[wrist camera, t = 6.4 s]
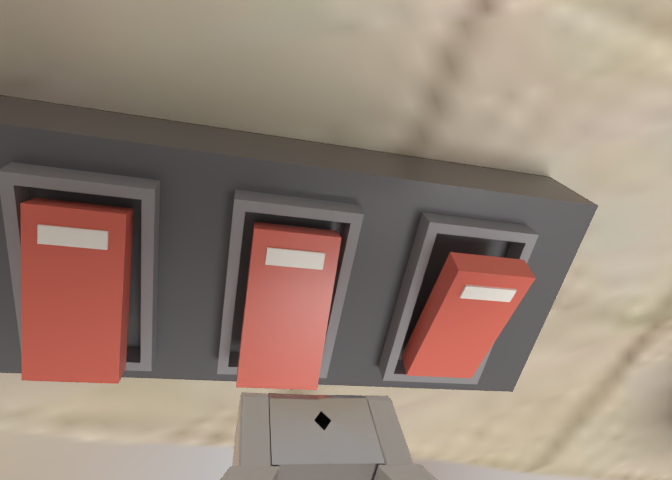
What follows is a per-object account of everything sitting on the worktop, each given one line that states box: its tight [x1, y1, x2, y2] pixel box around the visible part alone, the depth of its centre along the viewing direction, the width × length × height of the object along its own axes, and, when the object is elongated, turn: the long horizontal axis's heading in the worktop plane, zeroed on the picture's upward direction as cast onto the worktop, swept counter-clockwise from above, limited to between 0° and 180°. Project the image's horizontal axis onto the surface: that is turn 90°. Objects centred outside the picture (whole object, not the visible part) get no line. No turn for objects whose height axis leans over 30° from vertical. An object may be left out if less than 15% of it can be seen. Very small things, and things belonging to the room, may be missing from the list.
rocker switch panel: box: [0, 95, 598, 392], centre depth 19 cm, size 28×10×4 cm, turn 79°
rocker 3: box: [401, 252, 535, 378], centre depth 18 cm, size 3×6×1 cm, turn 169°
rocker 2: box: [236, 222, 341, 390], centre depth 17 cm, size 3×6×1 cm, turn 169°
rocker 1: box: [20, 198, 134, 384], centre depth 15 cm, size 3×6×1 cm, turn 169°
